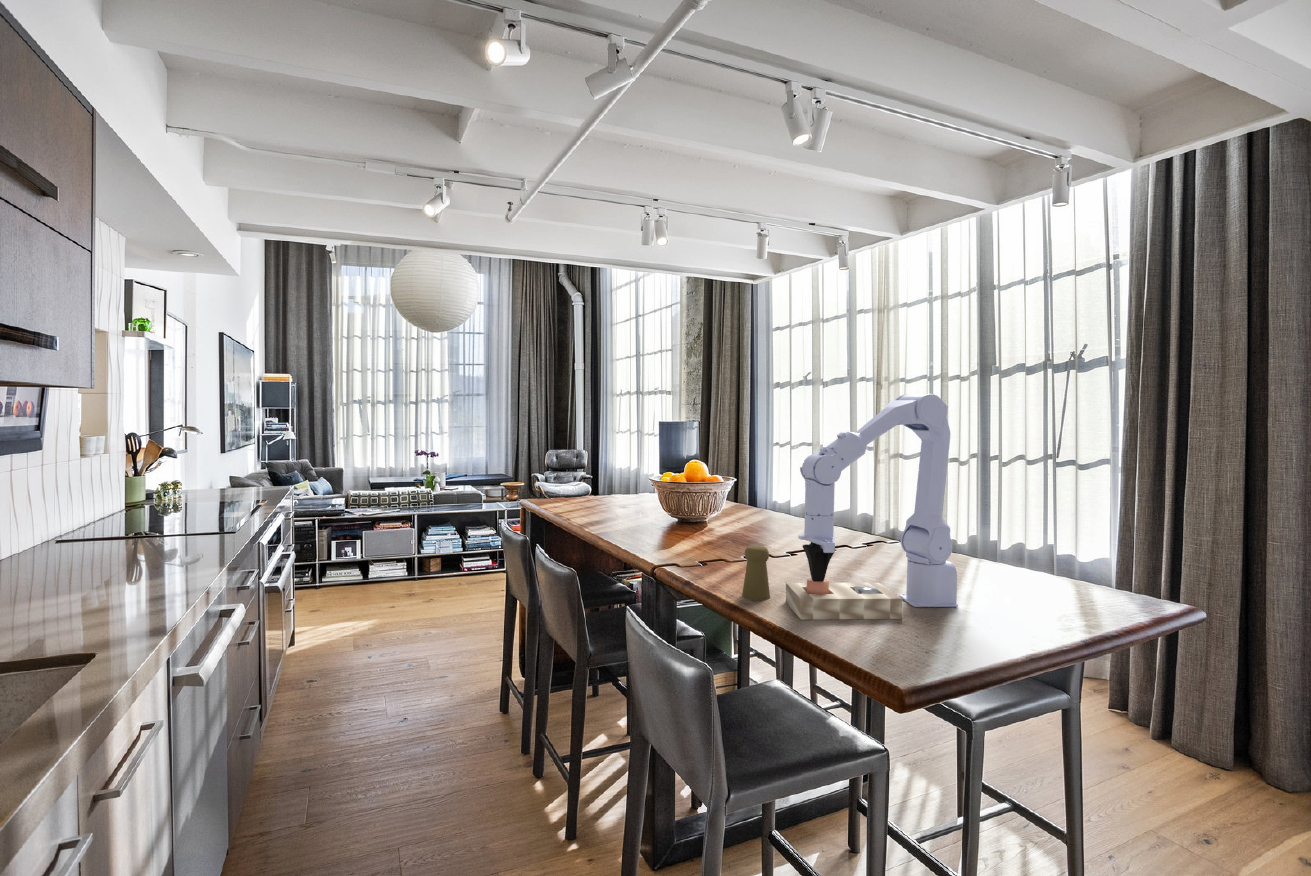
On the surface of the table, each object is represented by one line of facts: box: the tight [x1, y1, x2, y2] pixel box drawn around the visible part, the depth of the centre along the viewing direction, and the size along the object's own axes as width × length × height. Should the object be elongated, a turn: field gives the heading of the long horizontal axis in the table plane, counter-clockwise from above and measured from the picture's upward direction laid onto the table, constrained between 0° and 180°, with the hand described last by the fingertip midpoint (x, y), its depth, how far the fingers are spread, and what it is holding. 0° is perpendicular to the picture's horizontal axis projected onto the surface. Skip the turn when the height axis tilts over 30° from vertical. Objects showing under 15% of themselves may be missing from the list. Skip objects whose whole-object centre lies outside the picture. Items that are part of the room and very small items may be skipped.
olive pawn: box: [741, 544, 771, 601], centre depth 145 cm, size 6×6×11 cm
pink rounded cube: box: [806, 577, 830, 594], centre depth 136 cm, size 4×4×4 cm
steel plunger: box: [855, 585, 878, 594], centre depth 137 cm, size 4×4×4 cm
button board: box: [785, 582, 903, 620], centre depth 136 cm, size 20×12×4 cm, turn 93°
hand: (817, 580), depth 136 cm, fingers closed, pressing on pink rounded cube
